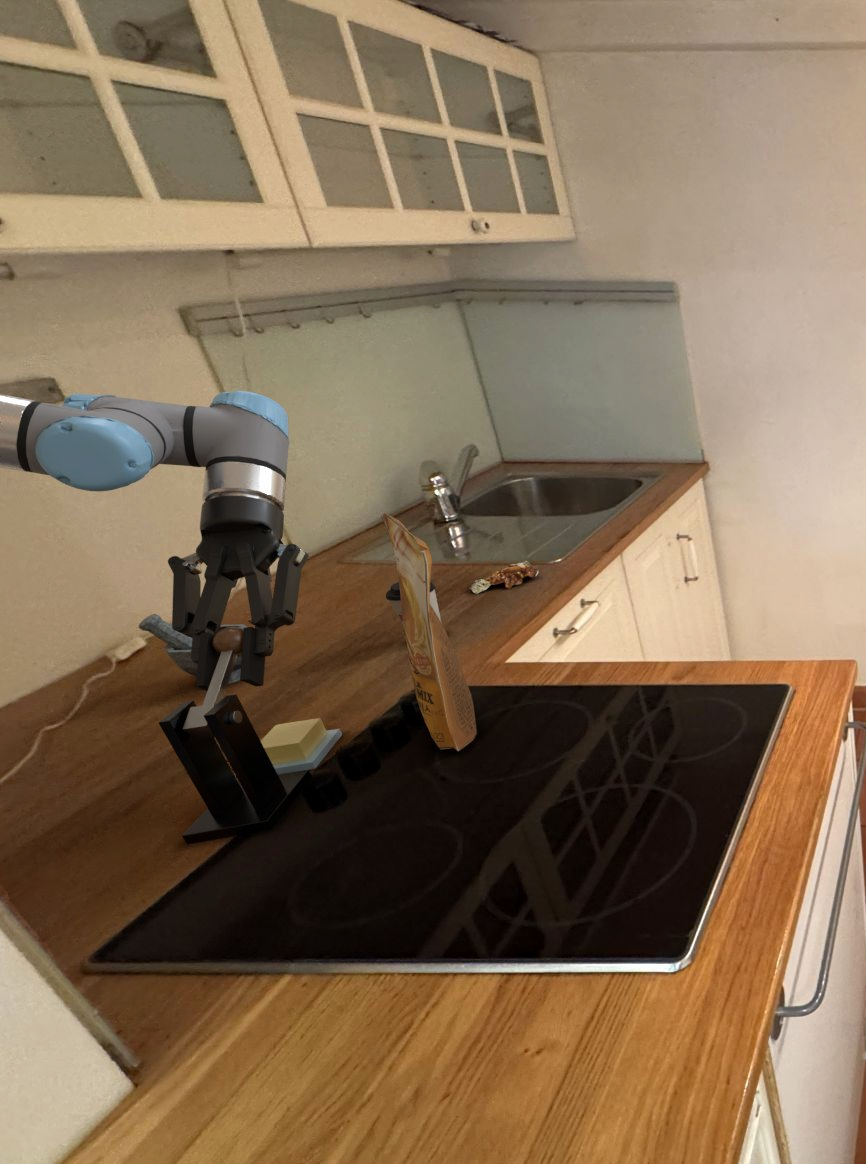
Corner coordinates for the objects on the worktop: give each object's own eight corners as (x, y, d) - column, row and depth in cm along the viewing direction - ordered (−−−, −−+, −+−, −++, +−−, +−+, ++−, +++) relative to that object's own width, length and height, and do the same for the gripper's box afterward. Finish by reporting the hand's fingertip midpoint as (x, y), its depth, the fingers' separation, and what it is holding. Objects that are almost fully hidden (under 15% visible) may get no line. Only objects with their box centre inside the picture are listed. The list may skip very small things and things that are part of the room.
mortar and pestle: (270, 656, 125) (238, 589, 120) (266, 678, 118) (231, 608, 113) (178, 678, 119) (140, 608, 114) (168, 702, 112) (126, 629, 107)
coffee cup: (411, 633, 131) (390, 579, 127) (456, 626, 133) (437, 573, 129) (398, 650, 125) (375, 594, 121) (445, 643, 127) (425, 588, 123)
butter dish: (249, 779, 94) (237, 756, 93) (281, 744, 101) (270, 721, 100) (315, 768, 96) (304, 745, 94) (342, 734, 103) (332, 712, 101)
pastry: (466, 588, 149) (460, 571, 148) (530, 570, 157) (525, 553, 156) (479, 597, 145) (473, 579, 143) (544, 578, 153) (539, 561, 151)
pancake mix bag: (474, 688, 113) (409, 505, 101) (498, 744, 100) (426, 540, 87) (421, 703, 110) (347, 516, 97) (438, 764, 96) (354, 554, 84)
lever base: (236, 790, 93) (182, 691, 87) (312, 777, 94) (265, 680, 88) (186, 844, 84) (122, 739, 78) (271, 829, 86) (215, 725, 80)
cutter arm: (229, 641, 92) (209, 623, 89) (264, 636, 93) (245, 618, 90) (193, 743, 84) (170, 727, 81) (232, 737, 85) (210, 721, 82)
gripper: (338, 514, 101) (332, 683, 94) (187, 529, 97) (169, 706, 90) (302, 485, 94) (293, 664, 87) (139, 500, 90) (115, 689, 83)
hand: (230, 685), depth 88 cm, fingers closed on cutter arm, 3 cm apart
